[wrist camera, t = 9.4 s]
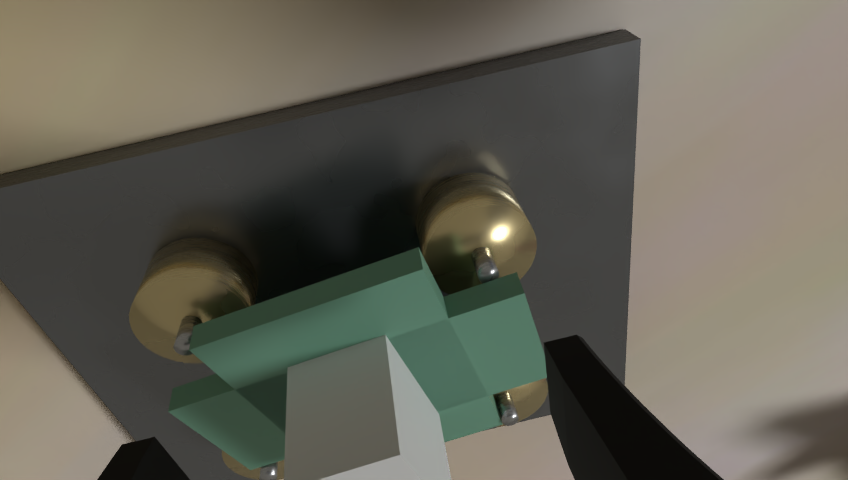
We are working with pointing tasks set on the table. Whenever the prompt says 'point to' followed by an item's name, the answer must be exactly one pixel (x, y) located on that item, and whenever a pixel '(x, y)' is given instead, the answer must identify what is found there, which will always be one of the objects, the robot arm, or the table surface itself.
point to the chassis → (336, 222)
